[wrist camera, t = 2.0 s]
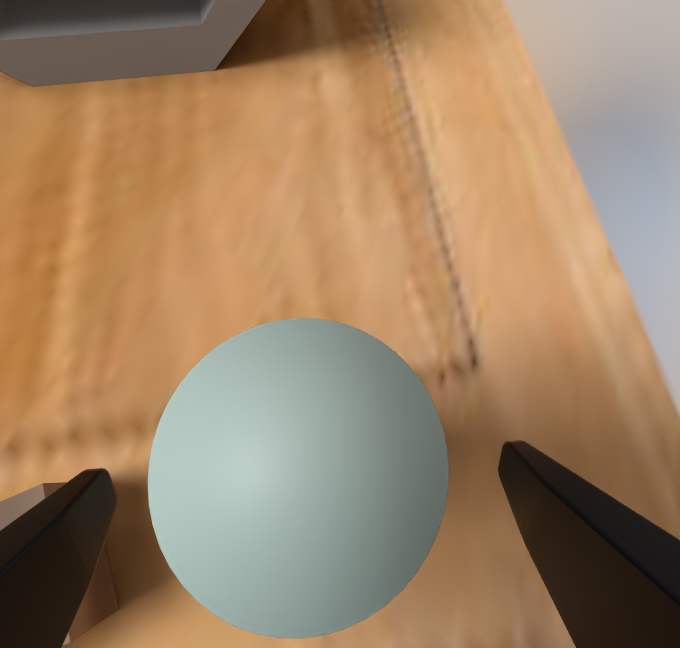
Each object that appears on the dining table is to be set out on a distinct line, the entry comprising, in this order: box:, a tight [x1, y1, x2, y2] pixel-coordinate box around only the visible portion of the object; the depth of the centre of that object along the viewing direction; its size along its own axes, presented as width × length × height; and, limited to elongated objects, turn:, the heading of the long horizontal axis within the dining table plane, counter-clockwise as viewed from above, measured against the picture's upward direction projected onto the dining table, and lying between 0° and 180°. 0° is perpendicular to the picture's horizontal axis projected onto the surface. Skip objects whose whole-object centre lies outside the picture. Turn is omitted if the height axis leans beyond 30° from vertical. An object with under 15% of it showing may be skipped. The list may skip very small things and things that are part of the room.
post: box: [148, 318, 449, 639], centre depth 11 cm, size 4×4×13 cm
